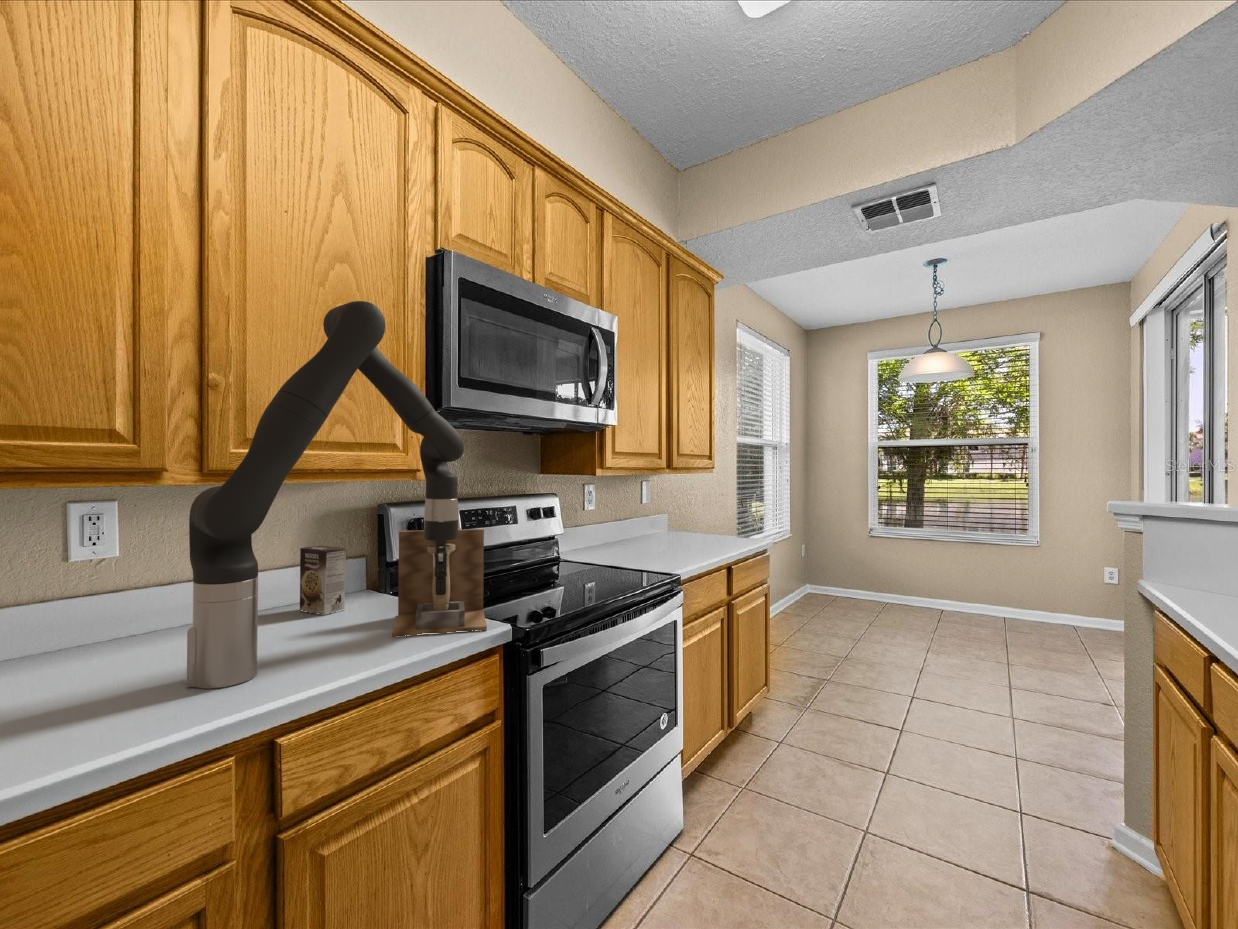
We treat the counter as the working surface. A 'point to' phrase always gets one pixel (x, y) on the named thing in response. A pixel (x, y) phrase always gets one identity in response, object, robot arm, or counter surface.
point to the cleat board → (418, 585)
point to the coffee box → (322, 579)
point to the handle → (443, 600)
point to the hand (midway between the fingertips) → (440, 592)
